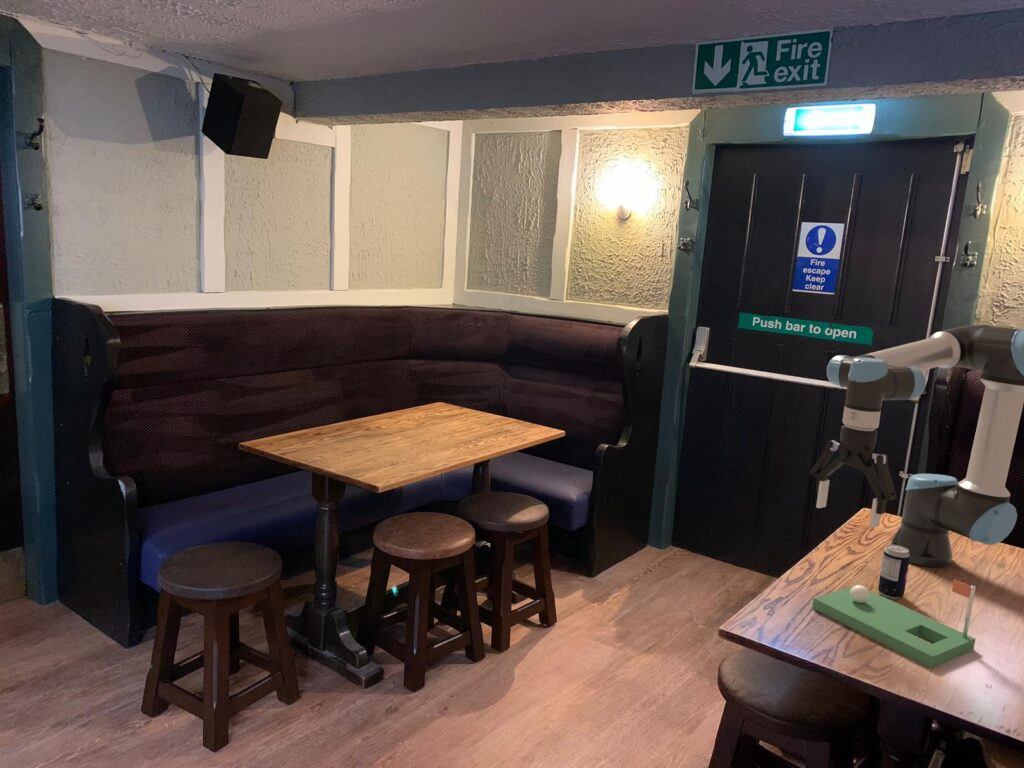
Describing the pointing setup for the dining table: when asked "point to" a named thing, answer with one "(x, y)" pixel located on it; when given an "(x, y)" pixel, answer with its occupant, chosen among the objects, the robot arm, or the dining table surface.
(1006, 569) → the dining table surface
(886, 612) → the putting mat
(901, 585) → the beverage can
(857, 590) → the ball
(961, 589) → the flag pin
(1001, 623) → the dining table surface
